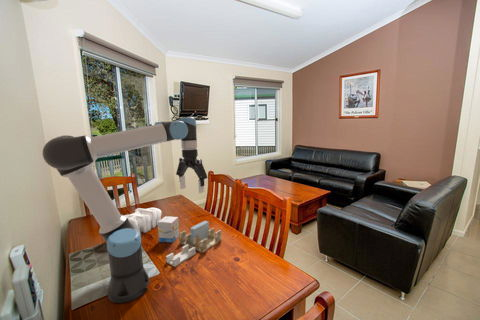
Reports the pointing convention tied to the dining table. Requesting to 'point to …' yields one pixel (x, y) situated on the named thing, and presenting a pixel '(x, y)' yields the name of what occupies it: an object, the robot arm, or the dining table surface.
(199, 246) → the rack
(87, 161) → the robot arm
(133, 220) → the wavy white extrusion
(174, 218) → the ink box
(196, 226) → the pale blue slab
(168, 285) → the dining table surface
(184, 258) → the holder
